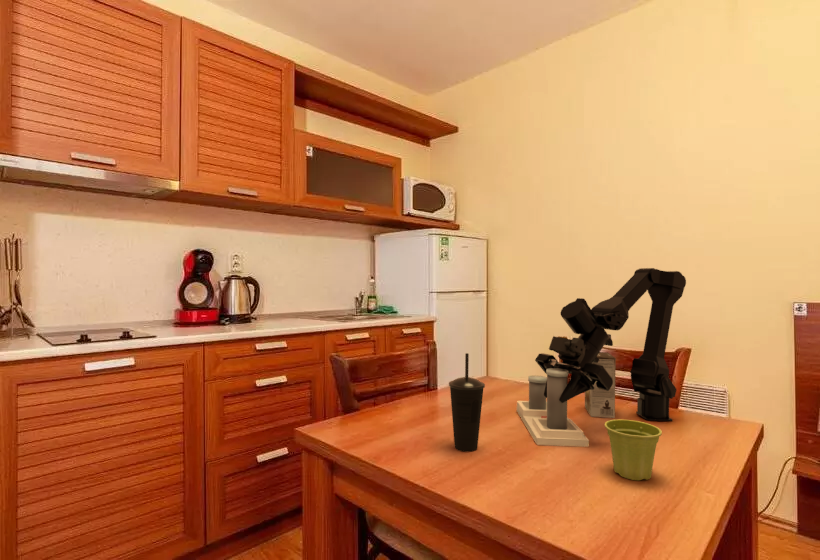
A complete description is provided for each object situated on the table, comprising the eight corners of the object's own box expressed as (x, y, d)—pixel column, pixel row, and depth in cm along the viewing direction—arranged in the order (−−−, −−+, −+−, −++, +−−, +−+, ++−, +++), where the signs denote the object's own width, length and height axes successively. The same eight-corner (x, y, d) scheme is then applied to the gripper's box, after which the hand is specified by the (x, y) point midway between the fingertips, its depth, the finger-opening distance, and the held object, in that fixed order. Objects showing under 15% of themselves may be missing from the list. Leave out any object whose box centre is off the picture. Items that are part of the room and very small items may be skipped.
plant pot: (660, 490, 74) (660, 439, 74) (600, 477, 79) (601, 429, 79) (662, 471, 82) (662, 424, 82) (608, 459, 87) (608, 416, 87)
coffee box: (583, 407, 124) (584, 351, 124) (607, 408, 122) (608, 352, 123) (590, 417, 115) (590, 356, 115) (616, 418, 113) (616, 357, 114)
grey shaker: (568, 425, 100) (569, 369, 100) (567, 432, 96) (567, 373, 96) (547, 422, 102) (547, 367, 102) (544, 428, 98) (545, 371, 98)
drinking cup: (486, 443, 95) (487, 352, 95) (480, 456, 87) (481, 357, 88) (452, 439, 97) (453, 349, 97) (444, 451, 90) (445, 355, 90)
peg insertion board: (557, 412, 118) (557, 373, 118) (588, 446, 93) (589, 398, 93) (516, 411, 119) (516, 372, 119) (536, 444, 94) (537, 396, 94)
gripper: (540, 321, 109) (506, 368, 104) (604, 328, 92) (566, 385, 87) (563, 350, 113) (530, 397, 108) (628, 362, 96) (593, 419, 91)
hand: (552, 399), depth 98 cm, fingers closed on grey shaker, 4 cm apart
